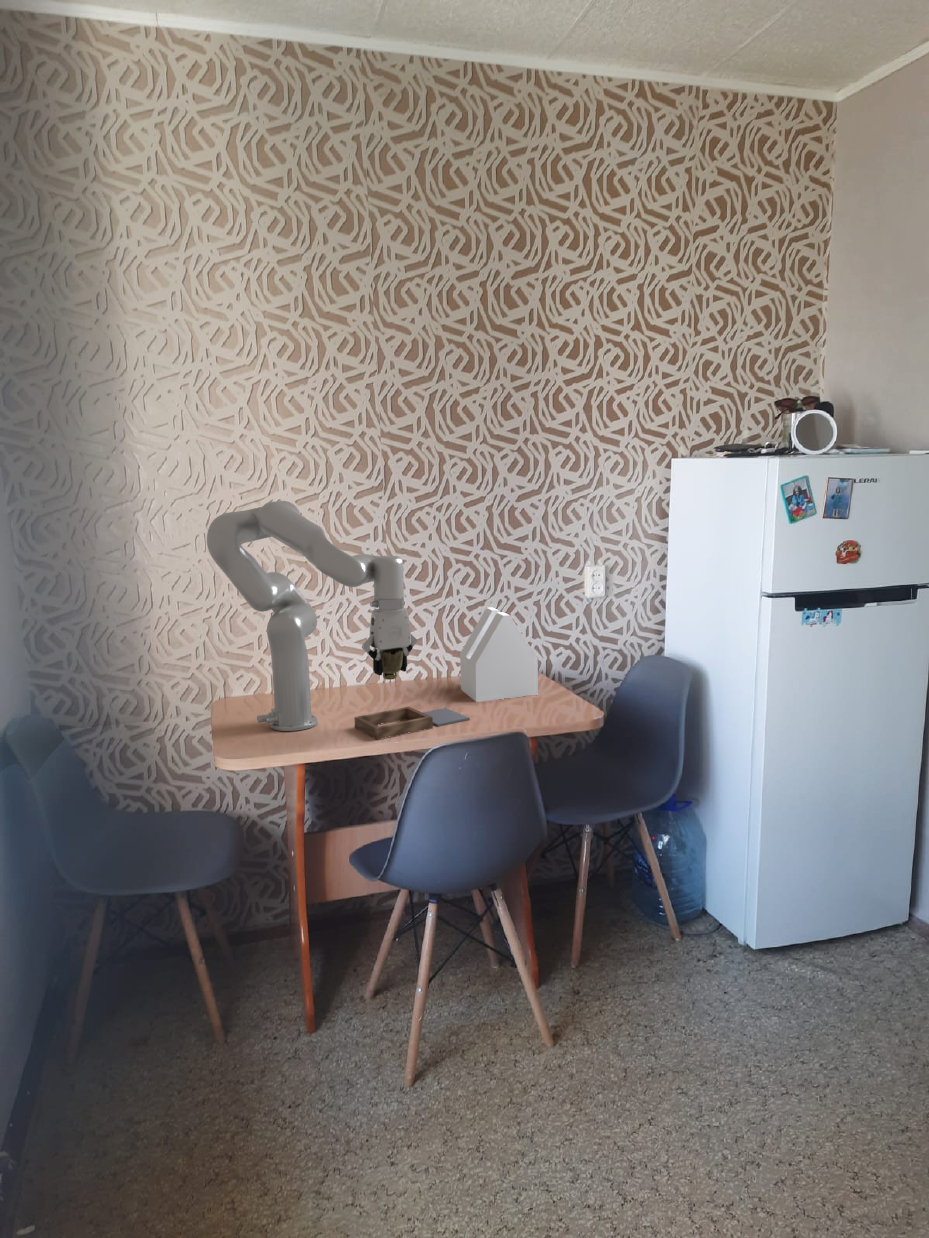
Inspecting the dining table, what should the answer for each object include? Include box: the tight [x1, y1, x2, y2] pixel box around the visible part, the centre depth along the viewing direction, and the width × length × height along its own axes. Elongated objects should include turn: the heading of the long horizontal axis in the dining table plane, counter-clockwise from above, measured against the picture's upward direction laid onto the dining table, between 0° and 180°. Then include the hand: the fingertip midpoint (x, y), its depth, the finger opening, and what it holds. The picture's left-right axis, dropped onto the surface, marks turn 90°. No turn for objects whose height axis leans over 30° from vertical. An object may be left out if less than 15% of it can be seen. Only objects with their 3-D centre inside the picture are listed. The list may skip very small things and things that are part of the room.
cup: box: [375, 648, 404, 681], centre depth 218 cm, size 8×7×8 cm
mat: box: [421, 707, 470, 728], centre depth 230 cm, size 10×12×1 cm
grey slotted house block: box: [459, 606, 539, 703], centre depth 253 cm, size 19×15×25 cm
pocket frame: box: [354, 706, 434, 740], centre depth 221 cm, size 16×12×3 cm
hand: (390, 671), depth 219 cm, fingers closed on cup, 6 cm apart
